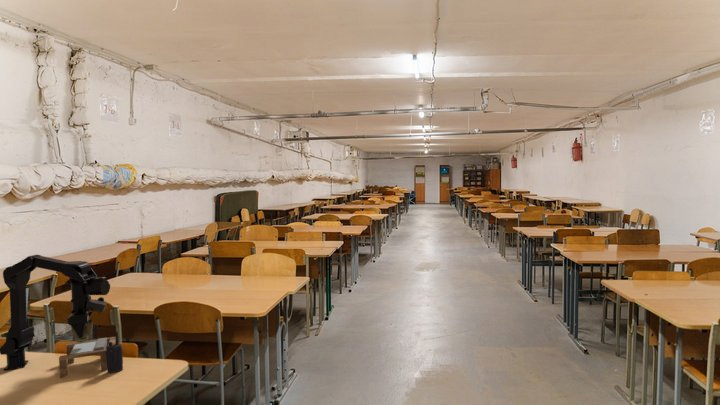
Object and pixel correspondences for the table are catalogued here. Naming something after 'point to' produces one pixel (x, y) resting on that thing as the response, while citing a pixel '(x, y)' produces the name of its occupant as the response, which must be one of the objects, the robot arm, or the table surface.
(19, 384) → the table surface
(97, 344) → the trapdoor
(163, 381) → the table surface
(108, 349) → the two-way radio
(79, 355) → the frame
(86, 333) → the brass rounded piece
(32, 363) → the table surface
